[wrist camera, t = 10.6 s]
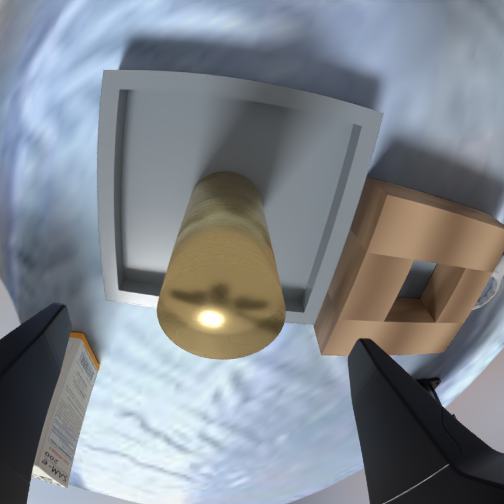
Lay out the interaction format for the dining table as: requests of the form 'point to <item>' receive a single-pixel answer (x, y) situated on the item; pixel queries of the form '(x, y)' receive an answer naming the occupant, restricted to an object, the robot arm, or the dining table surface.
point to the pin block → (397, 268)
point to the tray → (226, 159)
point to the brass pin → (222, 273)
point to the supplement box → (66, 413)
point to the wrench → (493, 284)
